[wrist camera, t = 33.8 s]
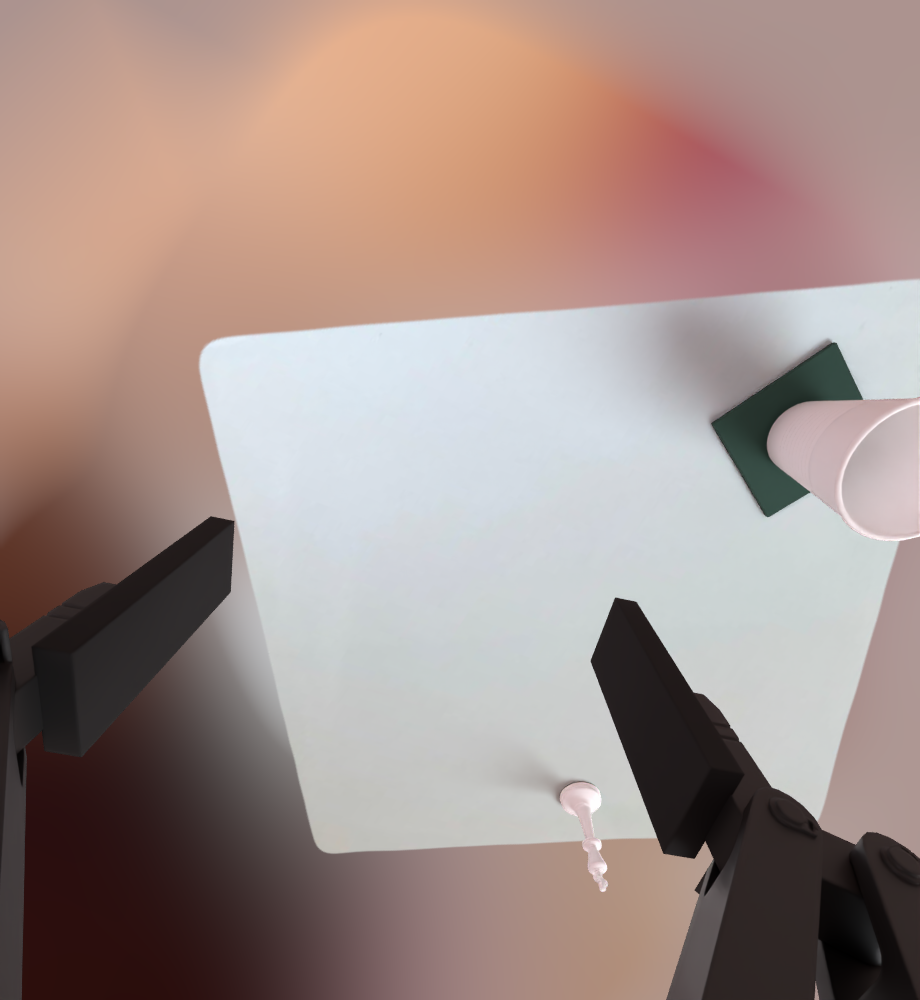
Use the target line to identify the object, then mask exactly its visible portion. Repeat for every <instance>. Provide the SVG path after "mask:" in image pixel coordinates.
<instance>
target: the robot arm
mask: <svg viewBox="0 0 920 1000" xmlns="http://www.w3.org/2000/svg"><path fill="white" fill-rule="evenodd" d="M233 536H234V521H231V520H226V519H221V518H216V517H209V518H208V519H207V520H205V521H204V522H203V523H201V524H200V525H198V526H197V527H196V528H194V529H193V530H191V531H190V532H189V533H187V534H186V535H184V536H183V537H182V538H180V539H179V540H178V541H176V542H175V543H173V544H172V545H171V546H169V547H168V548H167V549H165V550H164V551H162V552H161V553H160V554H158V555H157V556H156V557H154V558H153V559H151V560H150V561H149V562H147V563H146V564H144V565H143V566H142V567H140V568H139V569H138V570H136V571H135V572H133V573H132V574H131V575H129V576H128V577H127V578H125V579H124V580H123V581H121V582H120V583H118V584H117V585H116V584H111V583H105V582H103V583H100V584H97V585H95V586H92V587H90V588H87V589H84V590H82V591H80V592H78V593H77V594H75V595H74V596H72V597H71V598H69V599H68V600H66V601H65V602H63V603H62V605H61V606H57V607H56V608H54V609H53V610H51V611H50V612H48V614H47V616H42V617H41V618H39V619H38V620H36V621H35V622H33V623H32V624H31V625H29V626H27V627H26V628H25V629H23V630H22V631H20V632H19V633H17V634H16V635H14V636H13V637H11V638H10V639H9V633H8V628H7V626H6V623H5V622H3V621H2V620H0V1000H21V993H22V992H21V991H22V945H23V943H22V942H23V897H24V850H25V803H26V750H25V746H26V745H27V744H28V743H29V742H30V741H31V740H32V739H33V738H35V737H36V736H37V735H38V734H39V733H40V732H41V731H42V736H43V743H44V750H45V751H47V752H53V753H60V754H65V755H72V756H78V757H82V756H83V755H84V754H85V753H86V751H87V750H88V749H89V748H90V747H91V746H92V745H93V744H94V743H95V742H96V740H97V739H98V738H99V737H100V736H101V735H102V734H103V733H104V732H105V731H106V729H107V728H108V727H109V726H110V725H111V724H112V723H113V722H114V721H115V719H116V718H117V717H118V716H119V715H120V714H121V713H122V712H123V711H124V710H125V708H126V707H127V706H128V705H129V704H130V703H131V702H132V701H133V700H134V698H135V697H136V696H137V695H138V694H139V693H140V692H141V691H142V690H143V688H144V687H145V686H146V685H147V684H148V683H149V682H150V681H151V679H152V678H153V677H154V676H155V675H156V674H157V673H158V672H159V671H160V670H161V668H162V667H163V666H164V665H165V664H166V663H167V662H168V661H169V660H170V659H171V657H172V656H173V655H174V654H175V653H176V652H177V651H178V650H179V649H180V648H181V646H182V645H183V644H184V643H185V642H186V641H187V640H188V638H189V637H190V636H191V635H192V634H193V633H194V632H195V631H196V630H197V629H198V628H199V626H200V625H201V624H202V623H203V622H204V621H205V620H206V619H207V618H208V617H209V615H210V614H211V613H212V612H213V611H214V610H215V609H216V608H217V607H218V605H219V604H220V603H221V602H222V601H223V600H224V599H225V598H226V596H227V595H228V594H229V593H230V592H231V576H232V557H233V538H234V537H233ZM591 663H592V666H593V669H594V671H595V674H596V677H597V679H598V682H599V685H600V687H601V690H602V692H603V695H604V698H605V700H606V703H607V706H608V708H609V711H610V714H611V716H612V719H613V722H614V724H615V727H616V730H617V732H618V735H619V737H620V740H621V743H622V745H623V748H624V751H625V753H626V756H627V759H628V761H629V764H630V767H631V769H632V772H633V775H634V777H635V780H636V782H637V785H638V788H639V790H640V793H641V796H642V798H643V801H644V804H645V806H646V809H647V812H648V814H649V817H650V819H651V822H652V825H653V827H654V830H655V833H656V835H657V838H658V841H659V843H660V846H661V849H662V851H663V853H664V854H669V855H675V856H681V857H687V858H693V859H694V858H695V857H696V856H697V854H698V852H699V851H700V849H701V847H702V846H703V844H704V842H705V841H706V843H707V845H708V848H709V849H710V852H711V854H712V856H713V858H714V859H713V861H712V863H711V864H710V866H709V868H708V869H707V871H706V872H705V874H704V876H703V877H702V879H701V881H700V882H699V884H698V885H697V887H696V889H695V891H696V892H697V893H698V894H700V895H699V898H698V901H697V904H696V907H695V910H694V914H693V917H692V920H691V923H690V926H689V929H688V933H687V936H686V939H685V942H684V945H683V949H682V952H681V955H680V958H679V961H678V964H677V967H676V970H675V974H674V977H673V980H672V983H671V986H670V989H669V993H668V996H667V999H666V1000H814V998H815V981H816V985H817V989H818V995H819V1000H920V858H918V857H917V856H916V855H915V854H914V853H912V852H911V851H910V850H909V849H907V848H906V847H904V846H903V845H901V844H899V843H898V842H896V841H894V840H893V839H891V838H889V837H886V836H884V835H881V834H879V833H873V832H867V833H866V834H865V835H863V836H862V838H861V839H860V840H859V842H858V843H857V844H856V845H855V844H852V843H850V842H848V841H845V840H843V839H841V838H839V837H837V836H834V835H832V834H830V833H828V832H826V831H823V830H822V829H821V828H820V826H819V824H818V823H817V821H816V820H815V818H814V817H813V816H812V815H811V814H810V813H809V812H808V810H807V809H806V808H805V807H804V806H803V805H801V804H800V803H799V802H797V801H796V800H795V799H793V798H792V797H791V796H789V795H787V794H785V793H783V792H781V791H780V790H777V789H774V788H772V787H771V786H770V784H769V783H768V781H767V780H766V778H765V777H764V775H763V774H762V772H761V771H760V769H759V768H758V766H757V765H756V763H755V762H754V760H753V759H752V757H751V756H750V754H749V753H748V751H747V750H746V748H745V747H744V745H743V744H742V742H739V738H738V736H737V735H736V733H735V732H734V730H733V729H731V728H730V725H729V723H728V722H727V720H726V719H725V717H724V716H723V714H722V713H721V711H720V710H719V709H718V708H717V707H716V706H715V705H714V704H713V703H712V702H711V701H710V700H709V699H708V698H707V697H706V696H705V695H703V694H698V693H693V691H692V690H691V688H690V686H689V685H688V683H687V682H686V680H685V678H684V677H683V675H682V674H681V672H680V671H679V669H678V667H677V666H676V664H675V663H674V661H673V659H672V658H671V656H670V655H669V653H668V651H667V650H666V648H665V647H664V645H663V644H662V642H661V640H660V639H659V637H658V636H657V634H656V632H655V631H654V629H653V628H652V626H651V624H650V623H649V621H648V620H647V618H646V617H645V615H644V613H643V612H642V610H641V609H640V607H639V605H638V604H637V602H635V601H630V600H625V599H620V598H615V599H614V602H613V605H612V607H611V610H610V612H609V615H608V617H607V620H606V623H605V625H604V628H603V630H602V633H601V635H600V638H599V641H598V643H597V646H596V648H595V651H594V653H593V656H592V659H591Z"/></svg>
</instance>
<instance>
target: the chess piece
mask: <svg viewBox="0 0 920 1000" xmlns="http://www.w3.org/2000/svg"><path fill="white" fill-rule="evenodd" d="M560 802H561V804H562V807H563V809H564V810H565V811H566V812H568V813H569V814H572V815H575V816H578V818H579V820H580V823H581V826H582V829H583V832H584V835H585V838H586V839H585V840H584V841H583V842H582V847H583V849H584V850H585V851H586V852H589V853H588V871H589V872H590V873H591V874H593V875H594V876H593V878H594V881H596V882H597V883H598V884H599V888H600V890H601V891H602V892H604V891H605V890H606V889H605V888H606V887H607V886H608V882H607V881H606V880H605V879H603V876H602V874H603V873H605V872H606V870H607V865H606V863H605V861H604V860H603V858H602V857H601V854H600V853H599V850H600V849H601V841H600V840H599V839H598V838H595V837H594V831H593V824H592V816H591V814H592V813H593V812H595V811H596V810H597V809H598V808H599V807H600V804H601V794H600V791H599V789H598V788H597V787H596V786H594V785H592V784H590V783H586V782H578V783H573V784H571V785H569V786H567V787H566V788H564V789H563V791H562V792H561V794H560Z"/></svg>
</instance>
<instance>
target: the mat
mask: <svg viewBox="0 0 920 1000" xmlns="http://www.w3.org/2000/svg"><path fill="white" fill-rule="evenodd" d="M840 400H842V401H844V400H863V399H862V396H861V394H860V392H859V390H858V388H857V386H856V384H855V382H854V379H853V377H852V375H851V373H850V371H849V369H848V367H847V365H846V362H845V360H844V358H843V356H842V354H841V352H840V350H839V348H838V345H837V343H831V344H830V345H828V346H827V347H825V348H824V349H822V350H821V351H819V352H818V353H816V354H815V355H813V356H812V357H810V358H809V359H807V360H806V361H804V362H803V363H801V364H800V365H798V366H797V367H795V368H794V369H792V370H791V371H789V372H788V373H786V374H785V375H783V376H782V377H780V378H779V379H777V380H776V381H774V382H773V383H771V384H770V385H768V386H767V387H765V388H764V389H762V390H761V391H759V392H758V393H756V394H755V395H753V396H752V397H750V398H749V399H747V400H746V401H744V402H743V403H741V404H740V405H738V406H737V407H735V408H734V409H732V410H731V411H729V412H728V413H726V414H725V415H723V416H722V417H720V418H719V419H717V420H716V421H714V422H713V423H711V424H712V426H713V427H714V429H715V431H716V432H717V434H718V436H719V438H720V439H721V441H722V443H723V444H724V446H725V448H726V449H727V451H728V453H729V455H730V456H731V458H732V460H733V461H734V463H735V465H736V466H737V468H738V470H739V472H740V473H741V475H742V477H743V478H744V480H745V482H746V483H747V485H748V487H749V489H750V490H751V492H752V494H753V495H754V497H755V499H756V500H757V502H758V504H759V505H760V507H761V509H762V511H763V512H764V514H765V516H767V517H770V516H771V515H773V514H775V513H776V512H778V511H780V510H781V509H783V508H785V507H786V506H788V505H790V504H791V503H793V502H795V501H796V500H798V499H800V498H801V497H803V496H805V495H806V494H808V493H810V491H808V490H807V489H806V488H804V487H803V486H802V485H801V484H800V483H798V482H797V481H796V480H794V479H793V478H792V477H790V476H789V475H788V474H786V473H785V472H784V471H783V470H781V469H780V468H779V467H777V466H776V465H775V464H774V463H773V462H772V460H771V459H770V457H769V454H768V451H767V439H768V435H769V432H770V429H771V427H772V426H773V424H774V422H775V421H776V420H777V419H778V417H779V416H780V415H782V414H783V413H784V412H785V411H786V410H788V409H789V408H791V407H793V406H795V405H797V404H800V403H803V402H809V401H840Z"/></svg>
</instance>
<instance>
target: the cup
mask: <svg viewBox="0 0 920 1000" xmlns="http://www.w3.org/2000/svg"><path fill="white" fill-rule="evenodd" d="M767 451H768V454H769V457H770V459H771V460H772V462H773V463H774V464H775V465H776V466H777V467H779V468H780V469H781V470H783V471H784V472H785V473H786V474H788V475H789V476H790V477H792V478H793V479H794V480H796V481H797V482H798V483H800V484H801V485H802V486H803V487H804V488H806V489H807V490H808V491H810V492H811V493H812V494H814V495H815V496H816V497H817V498H818V499H820V500H821V501H822V502H823V503H825V504H826V505H827V506H828V507H830V508H831V509H832V510H834V511H835V512H836V513H837V514H839V515H840V516H841V517H842V519H843V521H844V522H845V523H846V524H847V525H848V526H849V527H850V528H851V529H852V530H854V531H856V532H857V533H859V534H861V535H863V536H866V537H869V538H872V539H875V540H884V541H898V540H907V539H911V538H915V537H919V536H920V397H918V398H912V399H883V400H881V399H880V400H844V401H842V400H840V401H809V402H803V403H800V404H797V405H795V406H793V407H791V408H789V409H788V410H786V411H785V412H784V413H783V414H782V415H780V416H779V417H778V419H777V420H776V421H775V422H774V424H773V426H772V427H771V429H770V432H769V435H768V439H767Z"/></svg>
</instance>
